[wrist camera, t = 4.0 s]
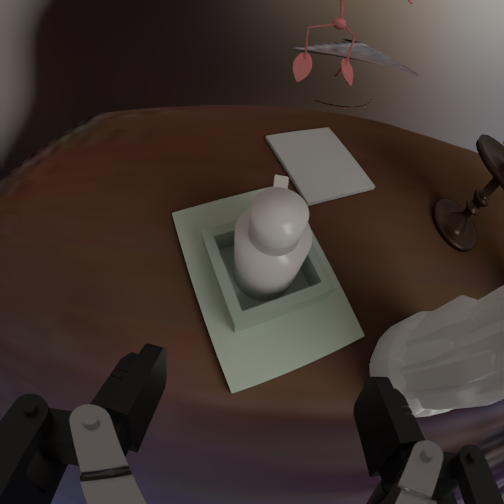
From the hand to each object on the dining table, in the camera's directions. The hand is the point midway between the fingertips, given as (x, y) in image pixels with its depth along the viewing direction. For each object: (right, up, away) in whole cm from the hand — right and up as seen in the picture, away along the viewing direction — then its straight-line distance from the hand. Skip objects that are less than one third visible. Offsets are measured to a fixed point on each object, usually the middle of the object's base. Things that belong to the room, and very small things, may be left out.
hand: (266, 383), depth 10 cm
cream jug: (+1, +4, +19) cm, 19 cm away
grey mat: (+9, +18, +28) cm, 34 cm away
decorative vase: (+16, -8, +15) cm, 24 cm away
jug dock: (0, +3, +19) cm, 19 cm away
